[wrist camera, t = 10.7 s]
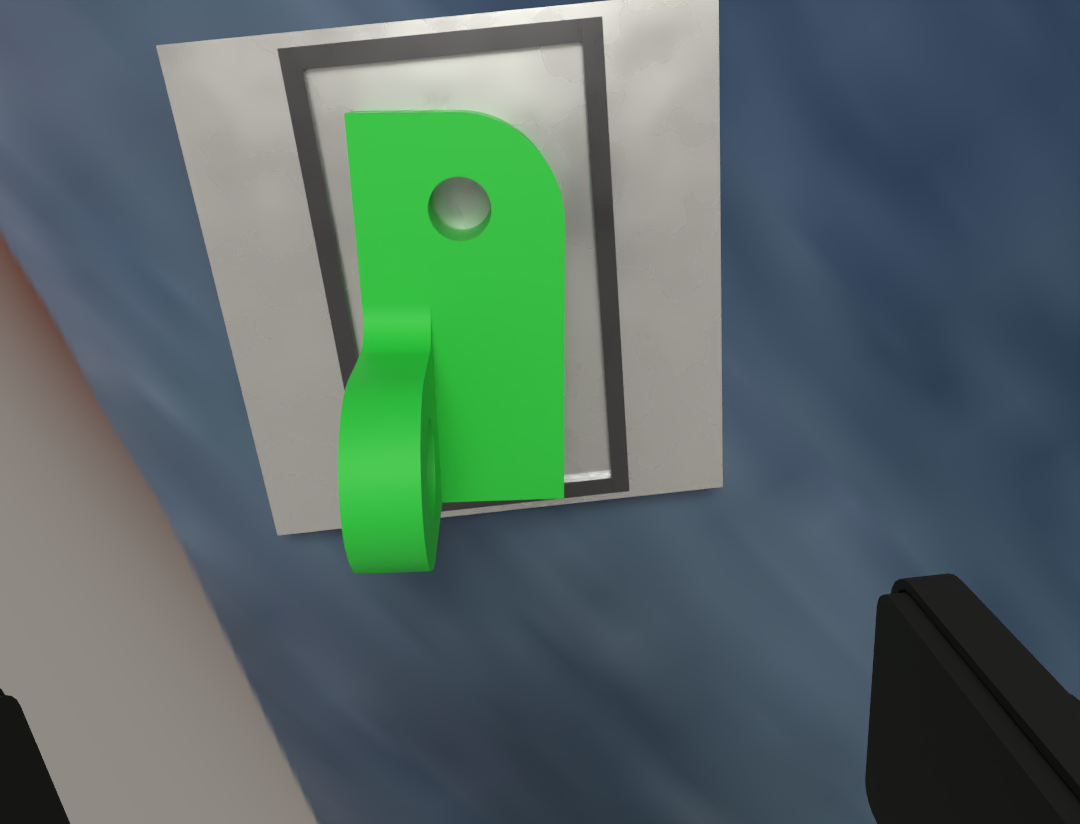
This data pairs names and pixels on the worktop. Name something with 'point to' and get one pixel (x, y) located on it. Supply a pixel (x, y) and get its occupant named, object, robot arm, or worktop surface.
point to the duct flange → (473, 224)
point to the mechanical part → (449, 333)
